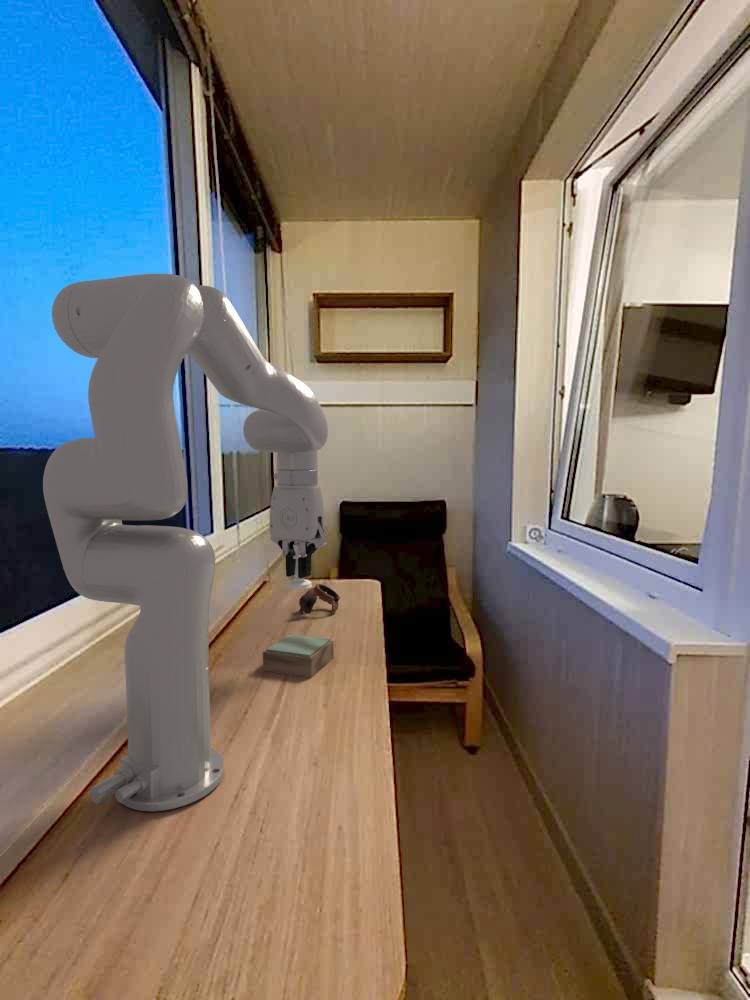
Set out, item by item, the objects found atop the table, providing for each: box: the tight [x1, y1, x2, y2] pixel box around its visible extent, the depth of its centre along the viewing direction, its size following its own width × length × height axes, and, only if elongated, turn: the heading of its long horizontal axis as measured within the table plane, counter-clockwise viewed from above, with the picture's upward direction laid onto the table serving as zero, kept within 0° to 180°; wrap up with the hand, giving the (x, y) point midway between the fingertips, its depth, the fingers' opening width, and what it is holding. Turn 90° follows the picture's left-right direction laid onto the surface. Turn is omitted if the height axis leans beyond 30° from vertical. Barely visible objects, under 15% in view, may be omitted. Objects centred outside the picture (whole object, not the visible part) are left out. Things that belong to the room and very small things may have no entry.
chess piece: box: [285, 541, 313, 590], centre depth 103 cm, size 5×5×10 cm
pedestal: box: [262, 633, 335, 678], centre depth 105 cm, size 10×10×4 cm
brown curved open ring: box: [298, 583, 341, 616], centre depth 138 cm, size 12×10×8 cm
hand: (298, 575), depth 103 cm, fingers closed on chess piece
